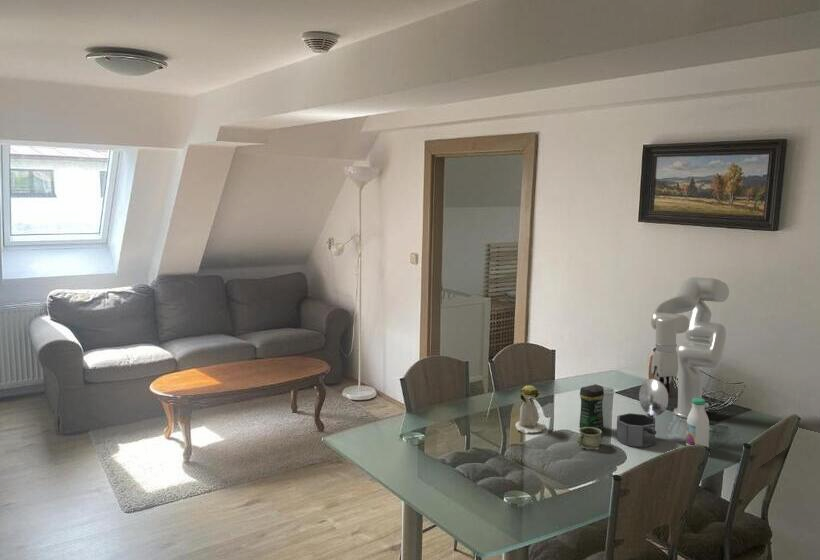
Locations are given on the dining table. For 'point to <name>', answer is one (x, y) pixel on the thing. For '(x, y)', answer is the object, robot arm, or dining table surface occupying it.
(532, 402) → the white figurine
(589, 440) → the vessel
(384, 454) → the dining table surface
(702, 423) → the milk bottle
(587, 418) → the coffee jar
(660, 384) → the lid
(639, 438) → the pot
